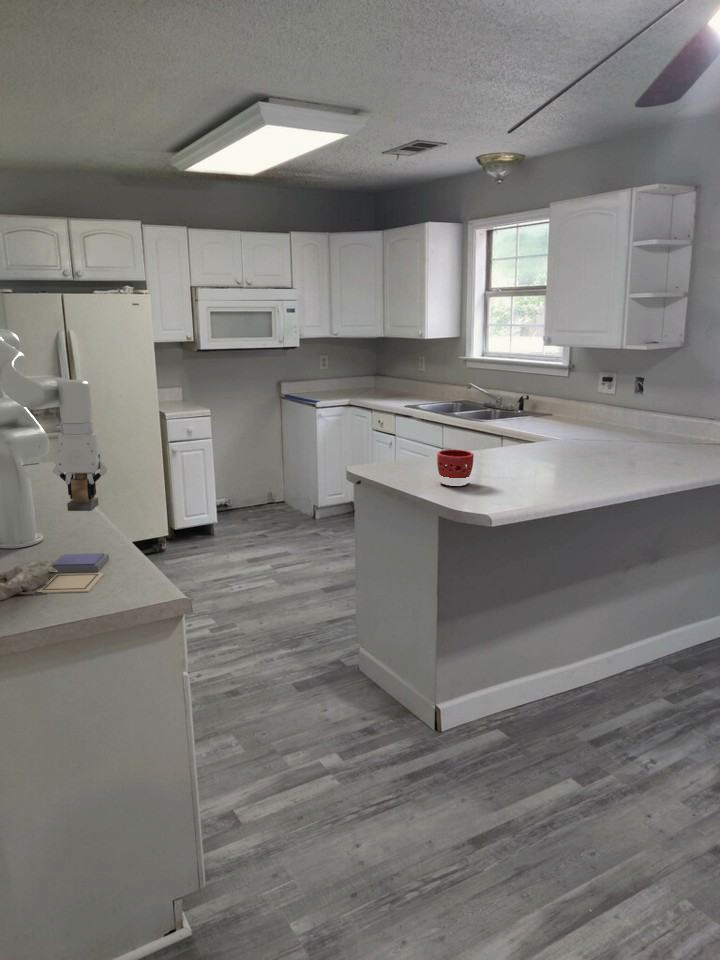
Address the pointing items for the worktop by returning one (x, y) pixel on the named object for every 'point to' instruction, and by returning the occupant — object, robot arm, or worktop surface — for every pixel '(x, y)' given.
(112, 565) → the worktop surface
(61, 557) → the ink pad
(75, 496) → the stamp
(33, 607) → the worktop surface
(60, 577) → the card
